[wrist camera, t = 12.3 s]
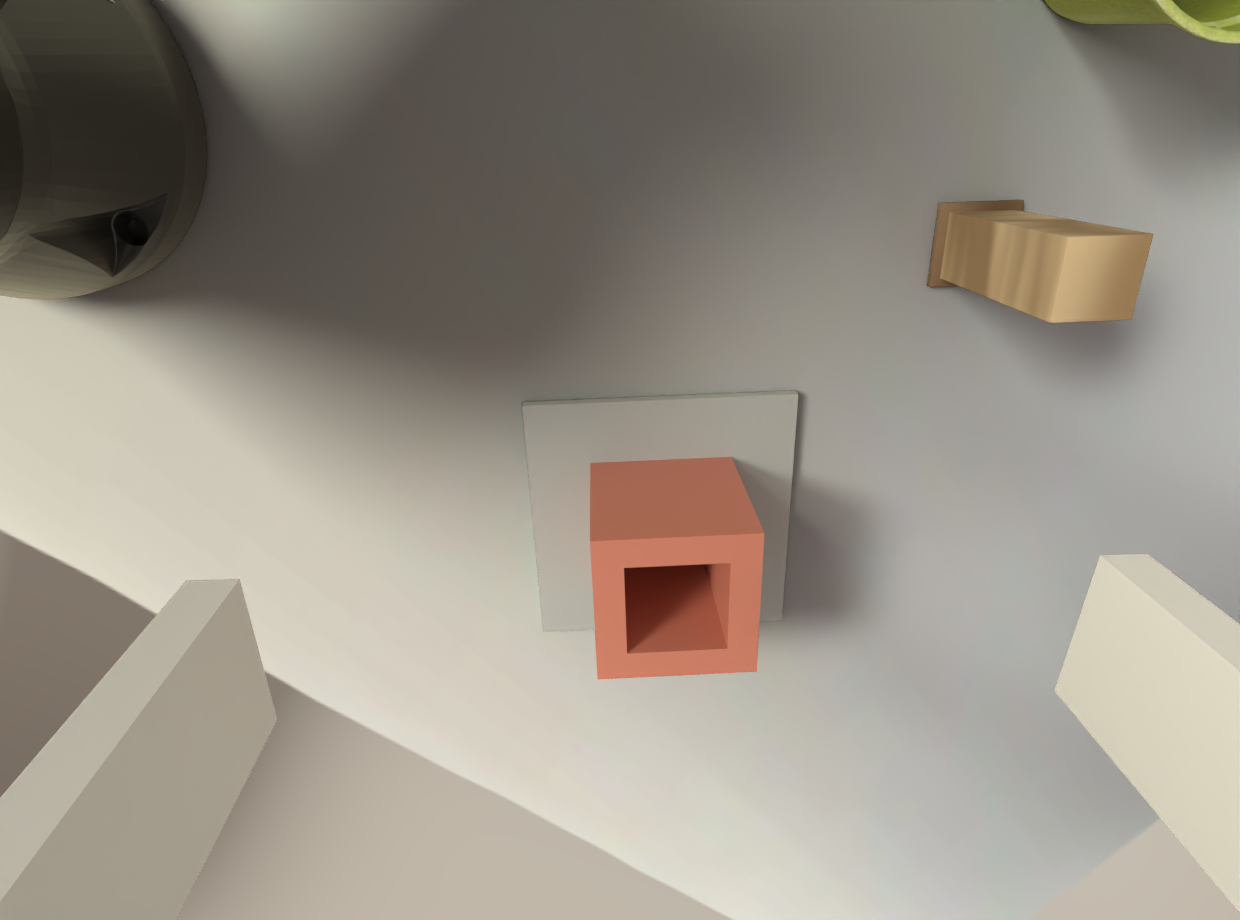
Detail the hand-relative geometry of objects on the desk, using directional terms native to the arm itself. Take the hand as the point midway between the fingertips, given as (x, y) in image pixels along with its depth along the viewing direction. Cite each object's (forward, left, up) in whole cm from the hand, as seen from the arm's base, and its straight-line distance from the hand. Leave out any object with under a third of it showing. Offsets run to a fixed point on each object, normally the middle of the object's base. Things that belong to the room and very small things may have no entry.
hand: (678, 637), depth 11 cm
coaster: (+2, -12, -26) cm, 28 cm away
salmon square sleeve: (+2, -12, -25) cm, 28 cm away
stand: (+17, +2, -26) cm, 31 cm away
